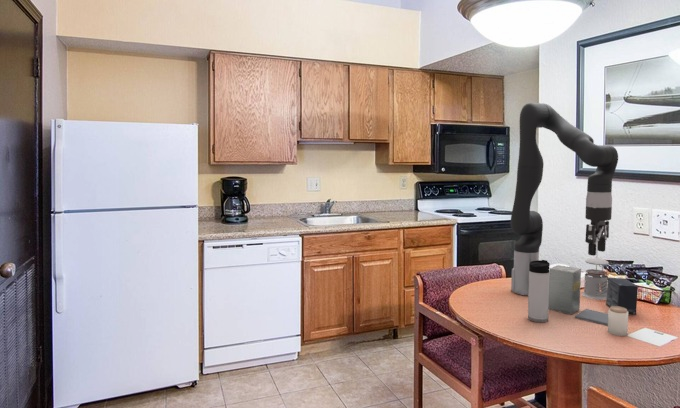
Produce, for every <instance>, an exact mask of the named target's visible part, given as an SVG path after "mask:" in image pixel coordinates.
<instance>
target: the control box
mask: <svg viewBox="0 0 680 408" xmlns="http://www.w3.org/2000/svg"><path fill="white" fill-rule="evenodd" d="M581 278H582V268H578V267H571V266H565V265H560V264H556V265H555V266H552V267H549V305H548V310H550V311H555V312H559V313H563V314H565V315H566V314H567V315H573V314H575V313H577V312H579V311H580V310H581V308H580V307H581V305H580V303H581V286H582V285H581V283H582V279H581Z"/></svg>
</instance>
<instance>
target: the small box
mask: <svg viewBox="0 0 680 408" xmlns="http://www.w3.org/2000/svg"><path fill="white" fill-rule="evenodd" d="M606 288H607V290H606V291H607V299H605V300H606V302H605V306H607V307H608V308H609V309H610V307H611V306H620V307H624V308H626V309H627V311H628V316H629V315H633V316H637V307H638V293H639V292H638V291H639V289H638V288H639V286H638V285H636V284H635V283H634V282H632V281H630V280H629V279H627V278H625V277H624V278H622V277H621V278H620V277H609V276H607V287H606Z"/></svg>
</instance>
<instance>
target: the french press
mask: <svg viewBox="0 0 680 408" xmlns="http://www.w3.org/2000/svg"><path fill="white" fill-rule="evenodd" d="M596 249H598V240H597V245H596ZM584 261H585V263H586V264H589V265H595V269H586V270H585V272H586V273H584V285H583V287H584V288H583V289H584V290H583V292H581V293H580V296H583V297H584V298H587V299H592V300H598V301H599V300H604V301H605V300H606V299H607V281H608V280H607V278H608V271H605V270H604V267H606V269H608V266H607V265H609V261H608V260H606V259H604V258H602V257H598V256H595V257H594V256H593V257H589V258H586V259H585V260H584ZM597 267H600V268H601V269H602V270H600V269H597Z"/></svg>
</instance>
